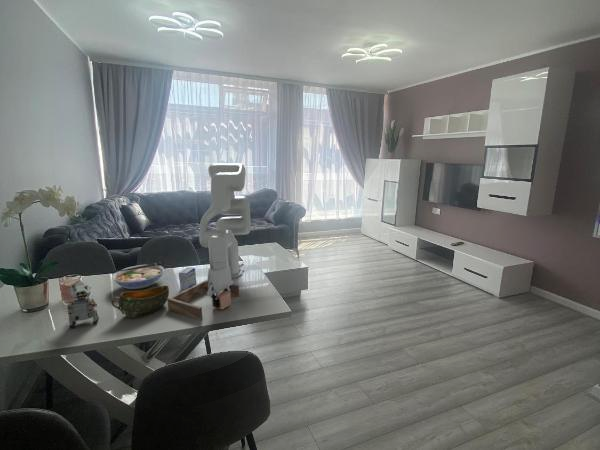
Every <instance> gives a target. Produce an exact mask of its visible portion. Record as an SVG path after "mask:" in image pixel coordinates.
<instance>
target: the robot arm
mask: <svg viewBox="0 0 600 450" xmlns="http://www.w3.org/2000/svg"><path fill="white" fill-rule="evenodd" d="M208 174H209V177H210V207H209V208H208V209H207V210H206V211H205V212H204V213H203V215H202V216H201V220H200V222H199V233H198V234H199V235H198V236H199V238H198V239H199V244H200V246H201V247H203V248H208V258H209V259H208V261H209V268H208V271H207V279H208V291H206V295H207V296H208V297H210V298H211V300H212V299H213V306H214V307H213V308H215V307H217V308H216V309H219V308H220V301H219V299H218V297H219V292H220V291H222V290H224V291H227V292H230V289H231V287H232V284H233V285H234V280H233V279H235V278H238V277H240V276H242V275H243V270H242V269H241V268H243V267H244V266H245V263H244V262H241V263H240V262H239V261H240V259H239V257H240V256H239V242H238V240H237V239H236V236H239V235H240V236H241V235H242V236H243V235H244V236H245V235H249V234H250V232H251V229H252V222H251V221H252V220H251V205H250V200H249V197H247V196H244V195H235V192H242V191H243V190H244V188H245V183H246V174H247V173H246V166H244V164H242V163H225V162H224V163H214V164H213V163H212V164H211V165H209V166H208ZM220 214H221V215H223V216H224V217H223V216H222V217H220V218H218V219H217V221H216V229H207V228H208V224H209V222H210V221H211V220H212V219H213V218H215V217H216V216H218V215H220ZM230 215H232V216H230ZM236 215H237V216H236ZM238 215H240V216H238ZM215 293H216V296H215Z"/></svg>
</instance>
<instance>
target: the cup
mask: <svg viewBox="0 0 600 450" xmlns="http://www.w3.org/2000/svg"><path fill="white" fill-rule="evenodd" d="M169 293H170V288H169V285H159V286H154V287H151V288H147V289H146V288H145V289H139V290H130V291H129V290H128V291H123V292H120V295H119V296H115V297H112V298H111V301H110V303H111V306H113V307H114V308H115V309H117V310H118V311H120V312H121V313H122V315H125V316H126V317H127V318H129V319H138V318H139V319H140V318H143V317H145V316H150V315H151V314H154V313H157V312H158V311H160V310H162V309H163V308H164V306H165V305H166V303H167V299H168V298H169V295H170V294H169ZM116 300H118V306H117V305H116V304H115V302H116Z"/></svg>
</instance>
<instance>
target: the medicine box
mask: <svg viewBox="0 0 600 450" xmlns="http://www.w3.org/2000/svg"><path fill="white" fill-rule="evenodd" d="M178 281H179V288H180V290H183V291H184V290H186V289H189V288H191V287H193V286H195V285H197V273H196V267H191V266H190V267H189V266H187V267H186V268H184V269H182V270H181V271H180V272H179V273H178Z"/></svg>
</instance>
